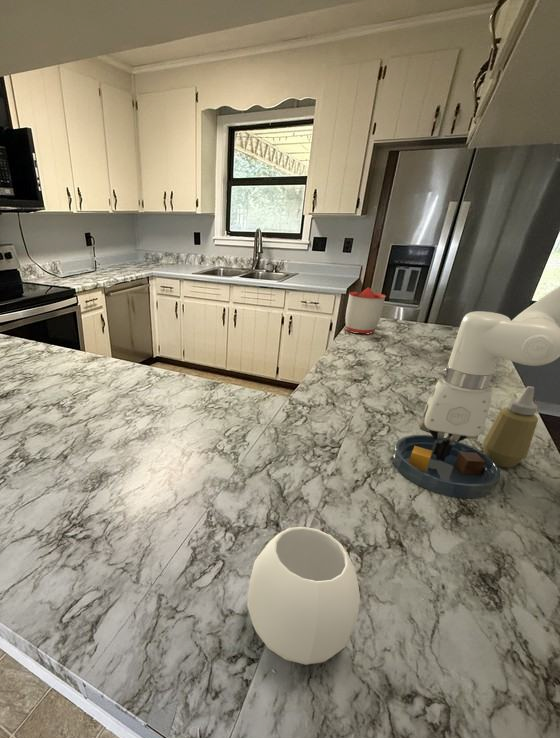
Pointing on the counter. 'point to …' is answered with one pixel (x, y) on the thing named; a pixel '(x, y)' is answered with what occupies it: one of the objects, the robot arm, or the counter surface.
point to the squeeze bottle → (512, 431)
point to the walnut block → (469, 463)
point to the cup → (304, 595)
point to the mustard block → (420, 458)
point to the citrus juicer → (364, 311)
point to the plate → (445, 469)
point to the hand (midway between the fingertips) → (438, 457)
